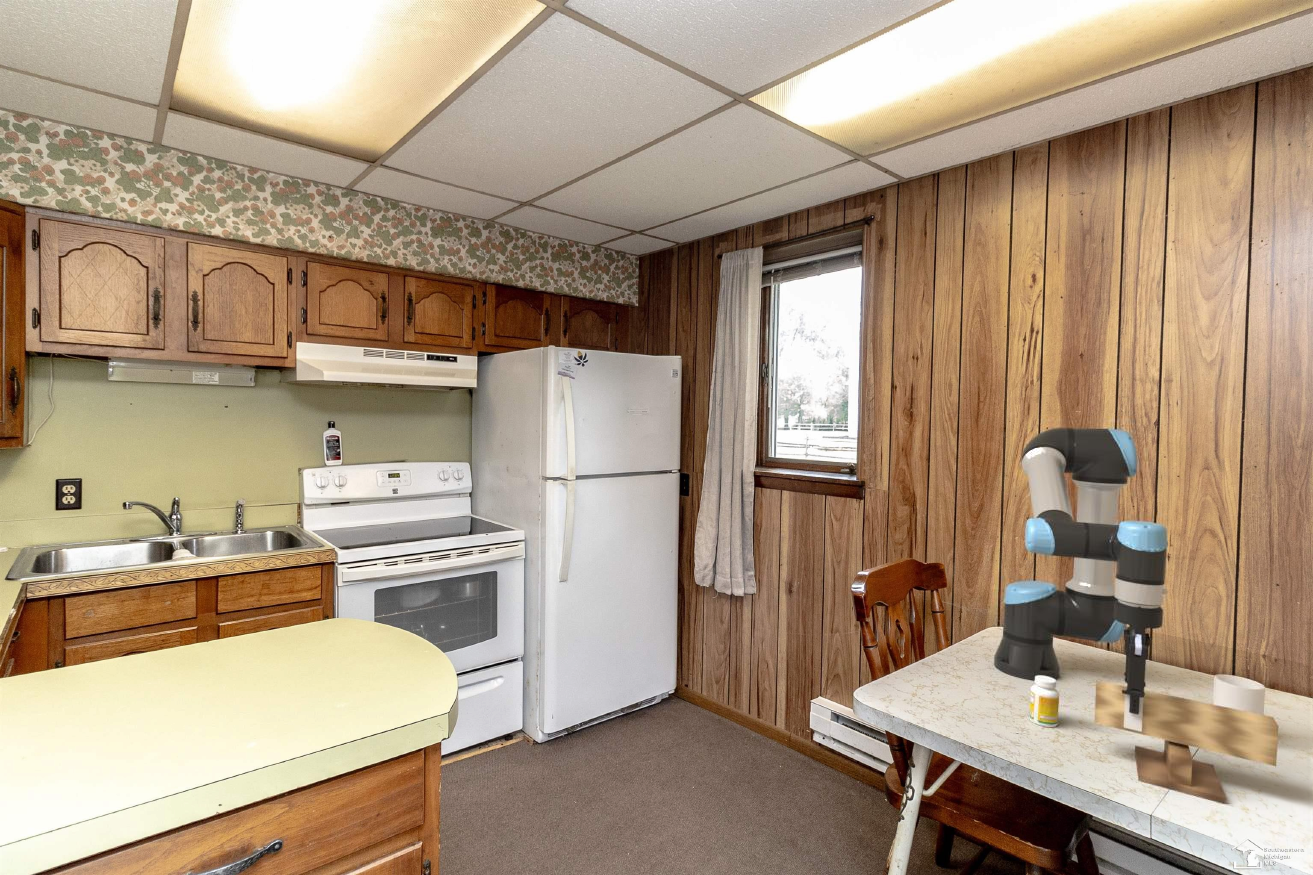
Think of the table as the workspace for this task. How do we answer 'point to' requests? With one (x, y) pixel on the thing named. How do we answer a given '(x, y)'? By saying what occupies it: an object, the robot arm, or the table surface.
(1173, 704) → the plank
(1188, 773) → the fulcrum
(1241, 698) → the mug
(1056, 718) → the supplement bottle
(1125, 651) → the robot arm
